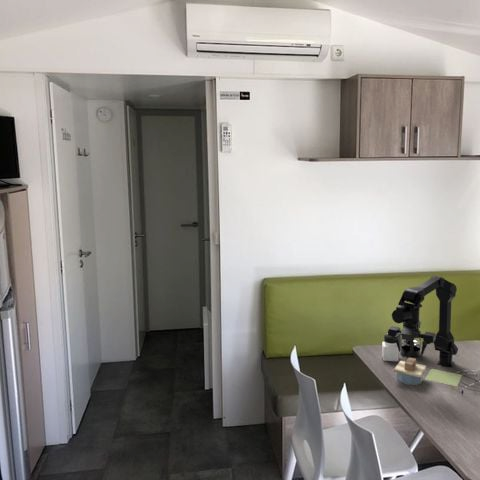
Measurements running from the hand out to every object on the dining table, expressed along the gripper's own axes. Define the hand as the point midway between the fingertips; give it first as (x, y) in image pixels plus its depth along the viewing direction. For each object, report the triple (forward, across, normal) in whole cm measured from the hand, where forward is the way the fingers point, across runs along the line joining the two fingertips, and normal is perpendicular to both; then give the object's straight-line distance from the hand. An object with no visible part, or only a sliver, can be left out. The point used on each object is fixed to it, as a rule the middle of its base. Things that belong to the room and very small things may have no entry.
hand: (410, 353), depth 204 cm
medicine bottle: (+13, -14, +20) cm, 27 cm away
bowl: (+12, 0, 0) cm, 12 cm away
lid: (+7, 0, 0) cm, 7 cm away
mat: (+12, +12, +10) cm, 20 cm away
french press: (+13, -7, +30) cm, 33 cm away
